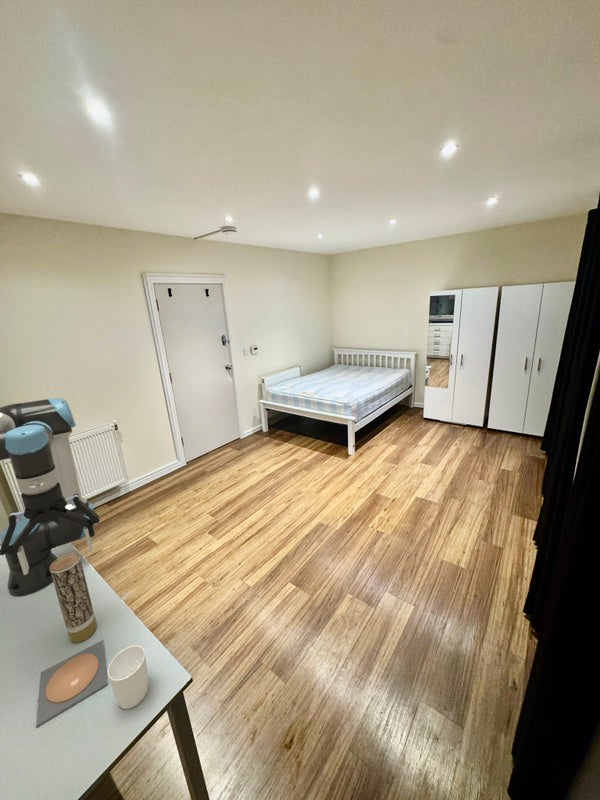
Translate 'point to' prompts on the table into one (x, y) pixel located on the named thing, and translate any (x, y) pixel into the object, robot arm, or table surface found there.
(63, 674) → the coaster
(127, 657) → the white cup
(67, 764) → the table surface
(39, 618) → the table surface
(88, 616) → the brown bark cylinder
